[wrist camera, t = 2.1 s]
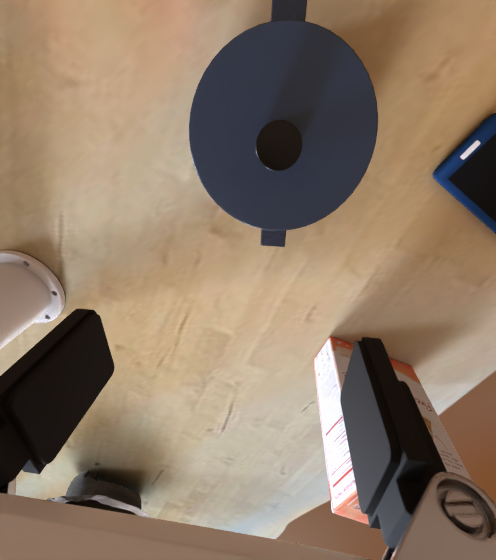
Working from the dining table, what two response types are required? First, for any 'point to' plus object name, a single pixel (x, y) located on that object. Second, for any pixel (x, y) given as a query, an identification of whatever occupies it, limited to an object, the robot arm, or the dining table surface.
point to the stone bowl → (101, 495)
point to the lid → (283, 125)
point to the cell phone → (473, 172)
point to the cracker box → (337, 454)
